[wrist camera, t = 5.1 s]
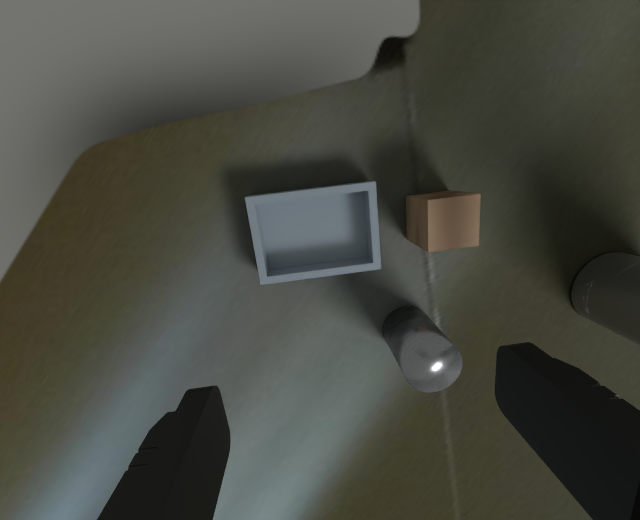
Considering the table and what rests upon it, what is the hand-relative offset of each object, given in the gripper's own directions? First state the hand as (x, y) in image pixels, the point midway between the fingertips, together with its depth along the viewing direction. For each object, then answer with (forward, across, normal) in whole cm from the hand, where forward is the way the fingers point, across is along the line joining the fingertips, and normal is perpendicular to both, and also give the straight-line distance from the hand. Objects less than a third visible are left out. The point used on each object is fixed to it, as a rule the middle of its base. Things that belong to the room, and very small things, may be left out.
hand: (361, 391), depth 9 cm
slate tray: (+26, 0, 0) cm, 26 cm away
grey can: (+26, -10, +14) cm, 31 cm away
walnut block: (+26, -13, 0) cm, 29 cm away
